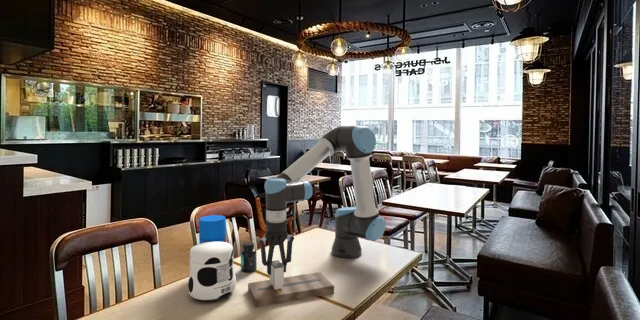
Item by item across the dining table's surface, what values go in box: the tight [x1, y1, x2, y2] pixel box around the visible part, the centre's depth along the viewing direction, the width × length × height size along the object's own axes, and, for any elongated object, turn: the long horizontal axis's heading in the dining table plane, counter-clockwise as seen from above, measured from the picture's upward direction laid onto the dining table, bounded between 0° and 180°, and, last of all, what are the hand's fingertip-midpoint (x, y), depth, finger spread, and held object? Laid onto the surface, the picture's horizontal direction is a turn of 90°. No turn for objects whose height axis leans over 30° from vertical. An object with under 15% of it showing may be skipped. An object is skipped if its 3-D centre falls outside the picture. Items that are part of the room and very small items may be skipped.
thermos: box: [198, 214, 227, 244], centre depth 149 cm, size 11×11×25 cm
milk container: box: [187, 241, 237, 302], centre depth 133 cm, size 17×17×18 cm
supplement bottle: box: [240, 241, 258, 274], centre depth 156 cm, size 7×7×12 cm
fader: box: [272, 259, 283, 290], centre depth 133 cm, size 3×6×9 cm, turn 22°
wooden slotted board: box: [247, 271, 335, 308], centre depth 136 cm, size 30×14×3 cm, turn 112°
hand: (276, 281), depth 133 cm, fingers closed on fader, 3 cm apart
